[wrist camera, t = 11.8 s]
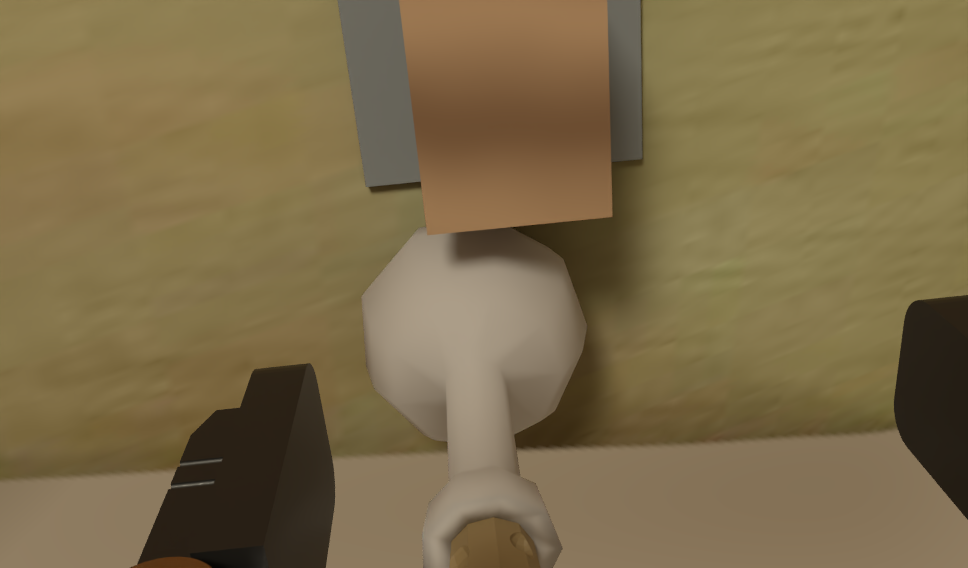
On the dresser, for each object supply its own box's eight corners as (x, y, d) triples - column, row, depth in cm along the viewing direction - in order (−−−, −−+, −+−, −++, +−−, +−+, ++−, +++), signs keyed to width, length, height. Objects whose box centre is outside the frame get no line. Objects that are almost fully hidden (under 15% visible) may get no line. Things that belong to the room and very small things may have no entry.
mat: (366, 183, 35) (366, 187, 35) (330, -56, 32) (329, -56, 31) (640, 156, 36) (642, 158, 35) (636, -87, 32) (639, -86, 31)
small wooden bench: (402, -47, 31) (396, -26, 25) (570, -63, 32) (606, -46, 25) (427, 169, 35) (427, 235, 29) (579, 154, 35) (612, 217, 29)
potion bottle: (601, 229, 37) (737, 515, 21) (524, 402, 40) (588, 765, 24) (399, 163, 35) (373, 417, 19) (337, 350, 39) (270, 701, 22)
